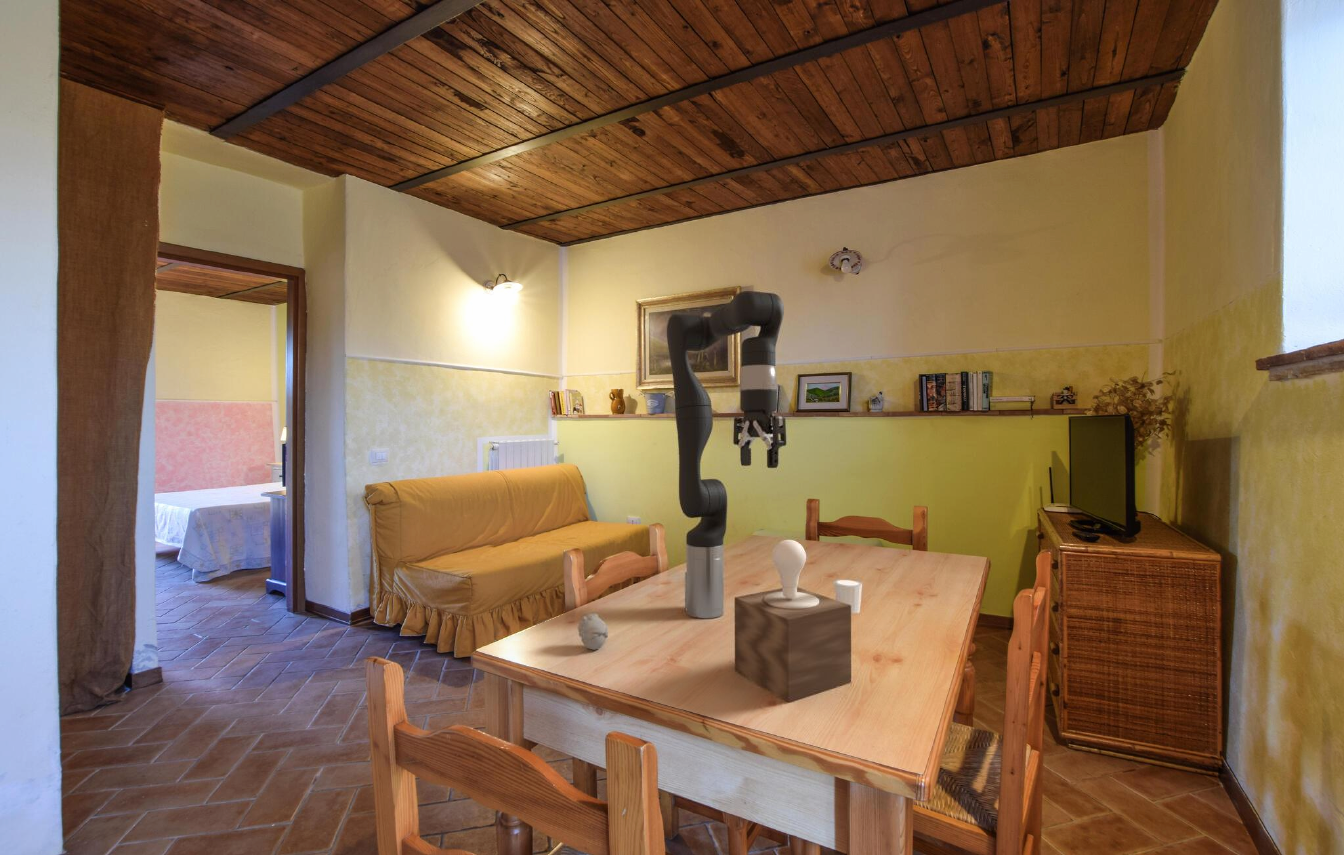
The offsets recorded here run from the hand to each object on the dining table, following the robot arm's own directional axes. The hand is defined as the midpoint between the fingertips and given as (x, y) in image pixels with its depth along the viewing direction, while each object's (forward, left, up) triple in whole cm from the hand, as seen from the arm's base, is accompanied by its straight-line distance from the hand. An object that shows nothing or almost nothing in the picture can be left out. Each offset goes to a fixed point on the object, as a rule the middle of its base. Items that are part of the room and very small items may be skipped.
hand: (758, 466), depth 121 cm
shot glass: (-9, +36, -38) cm, 53 cm away
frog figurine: (-19, -29, -38) cm, 52 cm away
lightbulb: (+13, -3, -24) cm, 27 cm away
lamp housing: (+13, -3, -38) cm, 40 cm away
